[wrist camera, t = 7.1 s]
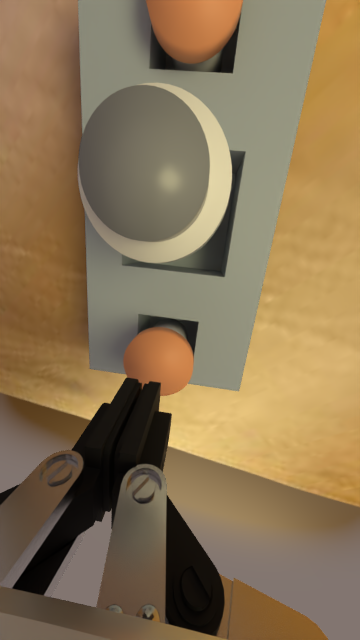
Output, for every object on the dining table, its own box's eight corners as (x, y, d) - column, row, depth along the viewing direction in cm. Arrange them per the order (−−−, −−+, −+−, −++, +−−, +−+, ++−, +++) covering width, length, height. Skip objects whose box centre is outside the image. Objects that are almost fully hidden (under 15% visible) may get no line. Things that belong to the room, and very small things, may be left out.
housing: (116, 21, 15) (75, -82, 10) (297, 29, 14) (343, -80, 9) (113, 343, 23) (89, 368, 18) (231, 360, 22) (238, 391, 17)
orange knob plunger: (145, 306, 18) (124, 328, 13) (199, 313, 18) (197, 338, 13) (142, 355, 19) (122, 390, 15) (192, 362, 19) (188, 400, 14)
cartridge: (153, 181, 17) (44, 38, 5) (220, 187, 17) (259, 48, 5) (149, 251, 18) (58, 257, 7) (211, 258, 18) (221, 276, 7)
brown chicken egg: (166, 18, 14) (146, -103, 9) (238, 21, 13) (257, -103, 9) (161, 108, 15) (141, 44, 10) (226, 112, 15) (236, 48, 10)
